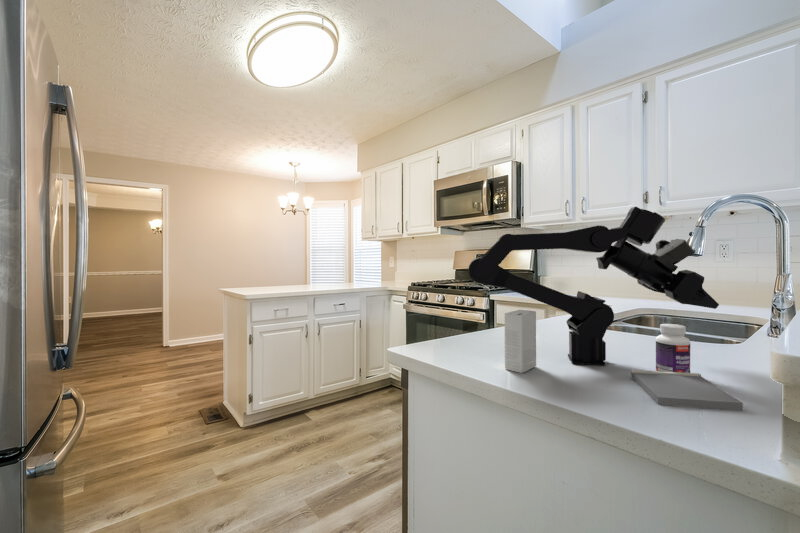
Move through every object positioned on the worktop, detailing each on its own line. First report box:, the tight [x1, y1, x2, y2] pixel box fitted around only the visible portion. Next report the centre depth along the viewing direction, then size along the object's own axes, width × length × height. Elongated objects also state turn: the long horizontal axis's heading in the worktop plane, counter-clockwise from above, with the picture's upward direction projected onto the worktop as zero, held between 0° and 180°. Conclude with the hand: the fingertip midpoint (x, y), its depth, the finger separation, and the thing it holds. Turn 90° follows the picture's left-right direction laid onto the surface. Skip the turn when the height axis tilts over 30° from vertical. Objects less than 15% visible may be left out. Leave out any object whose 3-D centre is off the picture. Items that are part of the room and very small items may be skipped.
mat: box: [630, 369, 744, 412], centre depth 63 cm, size 11×13×2 cm
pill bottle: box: [655, 323, 691, 373], centre depth 71 cm, size 5×5×10 cm
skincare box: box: [504, 309, 537, 374], centre depth 78 cm, size 6×4×12 cm
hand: (704, 301), depth 78 cm, fingers open, 9 cm apart
